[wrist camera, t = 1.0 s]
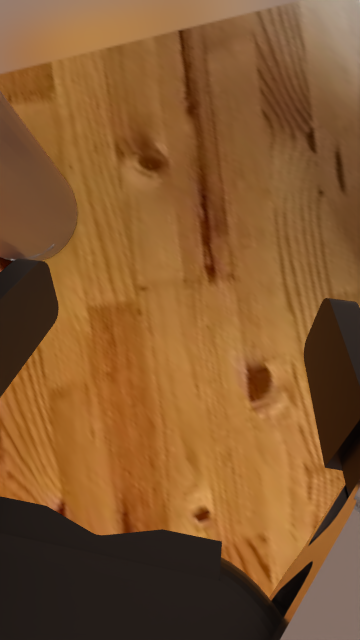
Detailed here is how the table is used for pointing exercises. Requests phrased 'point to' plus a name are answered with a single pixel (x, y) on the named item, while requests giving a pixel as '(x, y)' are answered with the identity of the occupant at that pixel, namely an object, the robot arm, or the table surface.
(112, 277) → the table surface
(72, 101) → the table surface
